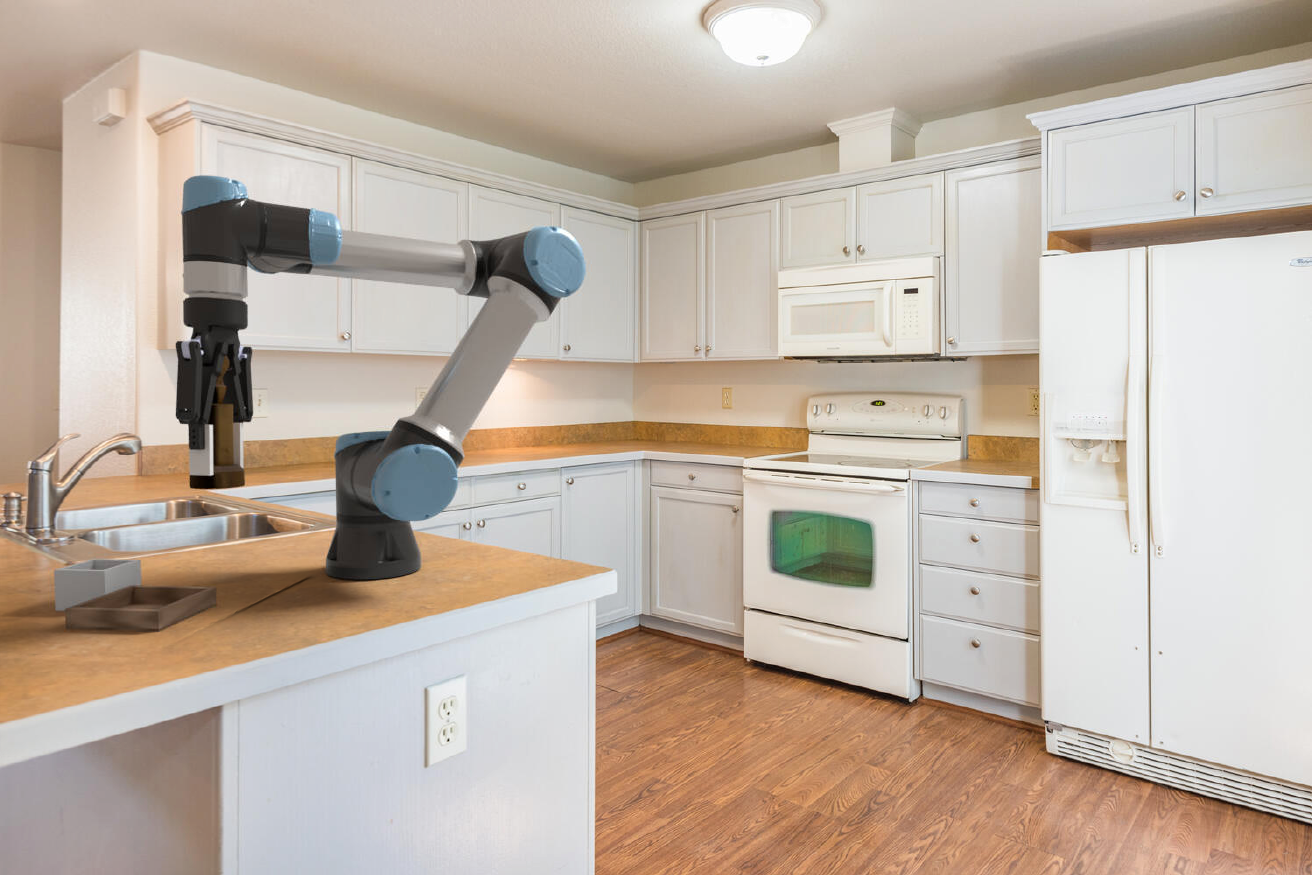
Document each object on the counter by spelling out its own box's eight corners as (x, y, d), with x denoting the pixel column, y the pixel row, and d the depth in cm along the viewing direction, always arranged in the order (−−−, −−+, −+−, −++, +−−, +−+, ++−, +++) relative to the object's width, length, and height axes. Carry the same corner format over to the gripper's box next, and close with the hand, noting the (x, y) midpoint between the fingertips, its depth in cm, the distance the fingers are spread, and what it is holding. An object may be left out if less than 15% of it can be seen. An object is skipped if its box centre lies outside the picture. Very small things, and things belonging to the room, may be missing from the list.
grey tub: (141, 601, 116) (140, 559, 116) (105, 615, 109) (104, 571, 109) (94, 600, 116) (93, 558, 116) (55, 614, 109) (54, 569, 109)
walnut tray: (216, 608, 113) (216, 587, 113) (159, 635, 101) (158, 611, 101) (133, 606, 113) (132, 585, 113) (65, 632, 101) (65, 608, 101)
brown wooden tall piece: (203, 483, 112) (202, 352, 111) (252, 484, 113) (252, 353, 112) (180, 489, 106) (178, 350, 105) (232, 490, 106) (231, 351, 105)
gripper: (229, 305, 118) (231, 465, 119) (138, 288, 98) (141, 479, 100) (280, 306, 117) (281, 466, 119) (199, 289, 98) (201, 480, 99)
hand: (217, 472), depth 109 cm, fingers closed on brown wooden tall piece, 6 cm apart
